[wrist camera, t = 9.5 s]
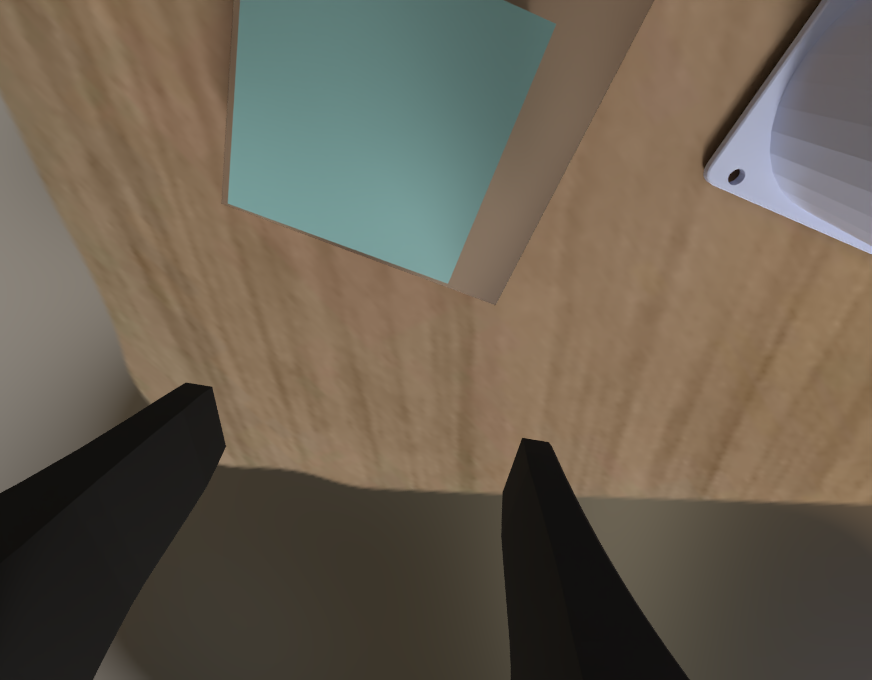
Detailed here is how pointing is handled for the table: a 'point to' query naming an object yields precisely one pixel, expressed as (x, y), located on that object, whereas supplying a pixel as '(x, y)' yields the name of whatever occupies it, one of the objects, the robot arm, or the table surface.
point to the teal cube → (378, 118)
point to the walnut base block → (523, 134)
